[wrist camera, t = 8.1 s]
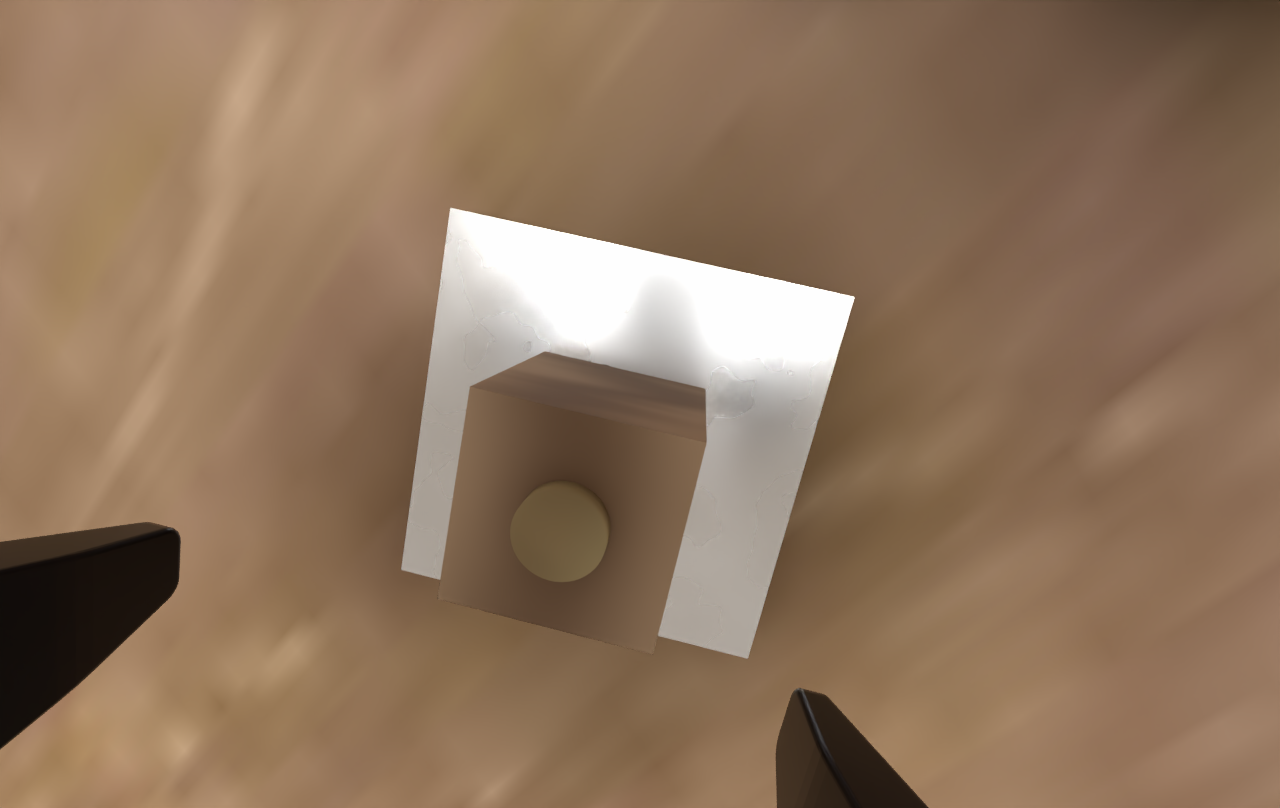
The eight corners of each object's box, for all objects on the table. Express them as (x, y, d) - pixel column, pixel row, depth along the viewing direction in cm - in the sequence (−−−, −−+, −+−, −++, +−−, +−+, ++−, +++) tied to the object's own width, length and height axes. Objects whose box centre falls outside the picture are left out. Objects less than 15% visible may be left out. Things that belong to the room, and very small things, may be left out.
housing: (705, 388, 18) (707, 451, 11) (668, 538, 19) (650, 672, 13) (544, 351, 18) (458, 391, 12) (517, 501, 19) (425, 613, 13)
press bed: (842, 295, 18) (854, 297, 17) (744, 632, 21) (747, 658, 20) (469, 213, 19) (450, 207, 18) (421, 549, 22) (401, 569, 20)
